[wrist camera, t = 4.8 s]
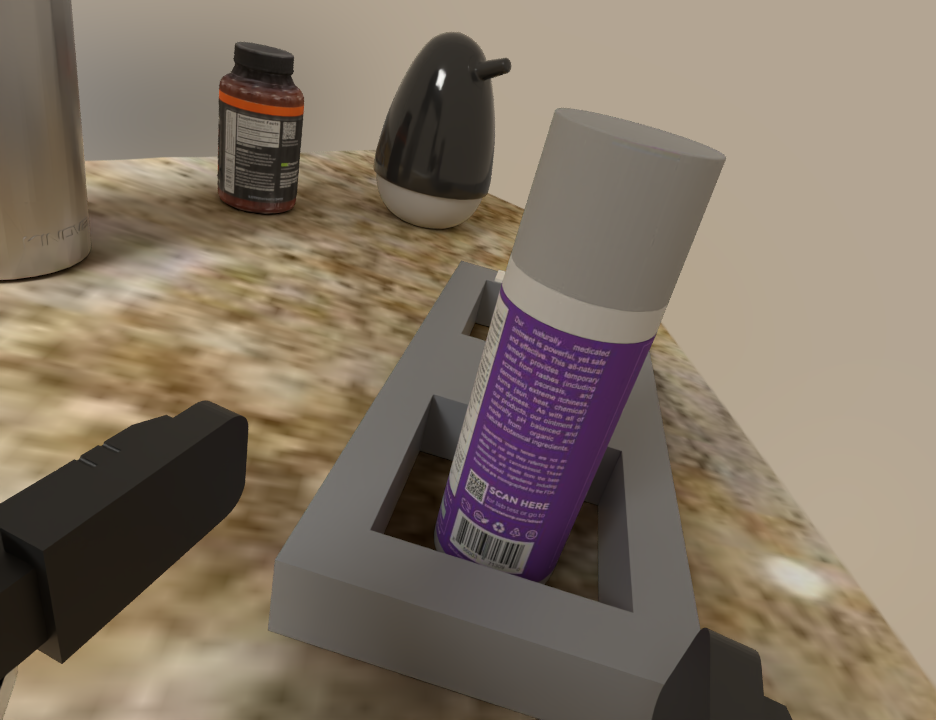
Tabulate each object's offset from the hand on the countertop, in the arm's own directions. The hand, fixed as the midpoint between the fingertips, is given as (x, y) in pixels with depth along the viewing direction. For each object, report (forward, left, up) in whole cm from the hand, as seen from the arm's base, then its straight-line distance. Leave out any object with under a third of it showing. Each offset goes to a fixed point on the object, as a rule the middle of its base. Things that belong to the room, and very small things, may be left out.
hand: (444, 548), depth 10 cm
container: (+2, +10, -9) cm, 13 cm away
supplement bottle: (-22, +38, -9) cm, 45 cm away
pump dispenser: (-10, +46, -9) cm, 48 cm away
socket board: (+2, +17, -9) cm, 19 cm away
